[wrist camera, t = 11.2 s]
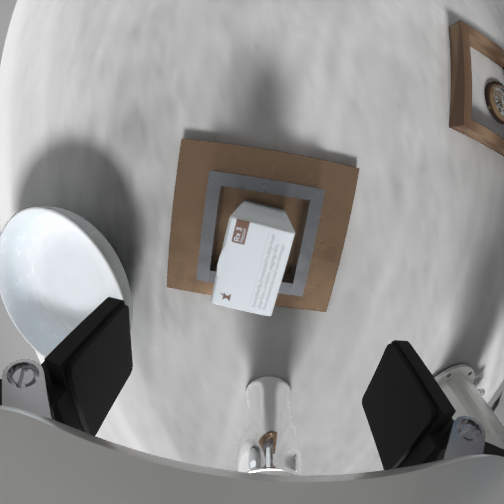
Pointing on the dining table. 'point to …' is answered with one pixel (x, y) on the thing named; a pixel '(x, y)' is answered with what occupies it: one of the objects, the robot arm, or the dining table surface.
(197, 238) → the board with square socket
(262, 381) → the beer glass
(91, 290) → the serving bowl
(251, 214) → the skincare box
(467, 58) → the square wooden tray
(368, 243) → the dining table surface
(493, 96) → the compass
